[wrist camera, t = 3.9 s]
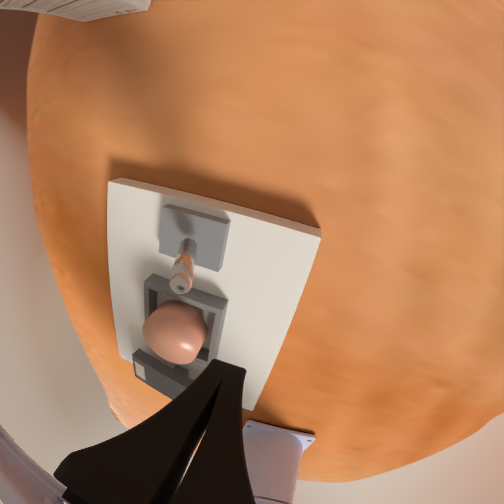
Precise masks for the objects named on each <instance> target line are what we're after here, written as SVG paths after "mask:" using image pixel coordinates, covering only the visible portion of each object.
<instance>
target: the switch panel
mask: <svg viewBox="0 0 504 504" xmlns="http://www.w3.org/2000/svg"><path fill="white" fill-rule="evenodd" d="M185 238H191V239H193V240H194V241H195V242H196V244H197V253H196V260H195V267H194V275H193V282H192V287H191V289H190V290H189V291H188V292H187V293H185V294H177V293H175V292H174V291H173V290H172V289H171V287H170V283H169V282H170V277H171V273H172V269H173V266H174V262H175V258H176V255H177V251H178V248H179V244H180V242H181V241H182V240H183V239H185ZM320 241H321V229H319V228H315V227H312V226H309V225H305V224H302V223H299V222H295V221H292V220H288V219H285V218H282V217H278V216H275V215H271V214H267V213H264V212H260V211H257V210H253V209H249V208H246V207H242V206H238V205H235V204H231V203H227V202H223V201H219V200H216V199H212V198H208V197H204V196H200V195H196V194H192V193H188V192H184V191H179V190H175V189H171V188H167V187H163V186H158V185H154V184H150V183H145V182H141V181H136V180H131V179H127V178H122V177H121V178H118V179H114V180H111V181H108V198H107V243H108V264H109V278H110V290H111V299H112V308H113V316H114V323H115V330H116V336H117V342H118V348H119V353H120V357H121V358H122V359H124V360H126V361H128V362H130V363H132V364H133V359H132V354H133V353H134V352H135V351H136V350H138V349H139V348H140V349H141V350H143V351H144V352H146V353H147V354H149V355H151V356H152V357H154V358H156V359H157V360H159V361H161V362H162V363H164V364H166V365H167V366H169V367H171V368H173V369H174V370H176V371H178V372H180V373H181V374H183V375H185V376H187V377H189V378H191V379H193V380H195V379H196V378H197V377H198V376H199V375H200V374H201V373H202V372H203V370H204V369H205V368H206V367H207V365H208V364H209V363H210V361H211V360H212V359H218V360H221V361H224V362H227V363H230V364H233V365H236V366H239V367H242V368H245V369H246V371H247V372H246V376H245V380H244V386H243V396H242V408H243V409H247V410H250V411H253V409H254V407H255V405H256V403H257V401H258V398H259V396H260V394H261V392H262V390H263V387H264V385H265V383H266V381H267V378H268V376H269V374H270V371H271V369H272V367H273V364H274V362H275V360H276V357H277V355H278V353H279V350H280V348H281V345H282V343H283V341H284V338H285V336H286V333H287V331H288V328H289V326H290V323H291V321H292V318H293V315H294V313H295V310H296V308H297V305H298V302H299V300H300V297H301V294H302V292H303V289H304V286H305V284H306V281H307V278H308V275H309V272H310V270H311V267H312V264H313V261H314V258H315V255H316V252H317V249H318V247H319V244H320ZM169 300H176V301H180V302H183V303H186V304H188V305H189V306H191V307H192V308H194V309H195V310H196V311H197V312H198V313H199V314H200V315H201V316H202V318H203V319H204V321H205V323H206V325H207V329H208V335H207V338H206V340H205V342H204V343H203V345H202V347H201V349H200V350H199V352H198V354H197V356H196V357H195V359H194V360H193V361H192V362H190V363H188V364H175V363H172V362H169V361H167V360H165V359H163V358H161V357H160V356H159V355H157V354H156V353H155V352H154V351H153V350H152V349H151V348H150V347H149V346H148V344H147V343H146V341H145V339H144V336H143V332H142V328H143V324H144V322H145V321H146V320H147V319H148V318H149V317H150V315H151V314H152V313H153V312H154V311H155V310H156V309H157V308H158V306H159V305H160V304H161V303H163V302H165V301H169Z"/></svg>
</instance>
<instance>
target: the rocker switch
mask: <svg viewBox="0 0 504 504" xmlns="http://www.w3.org/2000/svg"><path fill="white" fill-rule="evenodd" d="M132 359H133V366H134V372H135V376H136V377H137V378H139V379H140V380H142V381H143V382H145V383H146V384H148V385H149V386H151V387H152V388H154V389H156V390H157V391H159V392H161V393H162V394H164V395H166V396H167V397H169V398H171V399H172V400H174V399H175V398H176V397H177V396H178V395H179V394H181V393H182V392H183V391H184V390H185V389H186V388H187V387H188V386H189V385H190V384H191V383H192V382H193V381H194V380H193V379H191V378H189V377H187V376H185V375H183V374H181V373H180V372H178V371H176V370H174V369H173V368H171V367H169V366H167V365H166V364H164V363H162V362H161V361H159V360H157V359H156V358H154V357H152V356H151V355H149V354H147V353H146V352H144V351H143V350H141V349H140V348H139V349H138V350H136V351H135V352H134V353H133V354H132Z"/></svg>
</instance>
